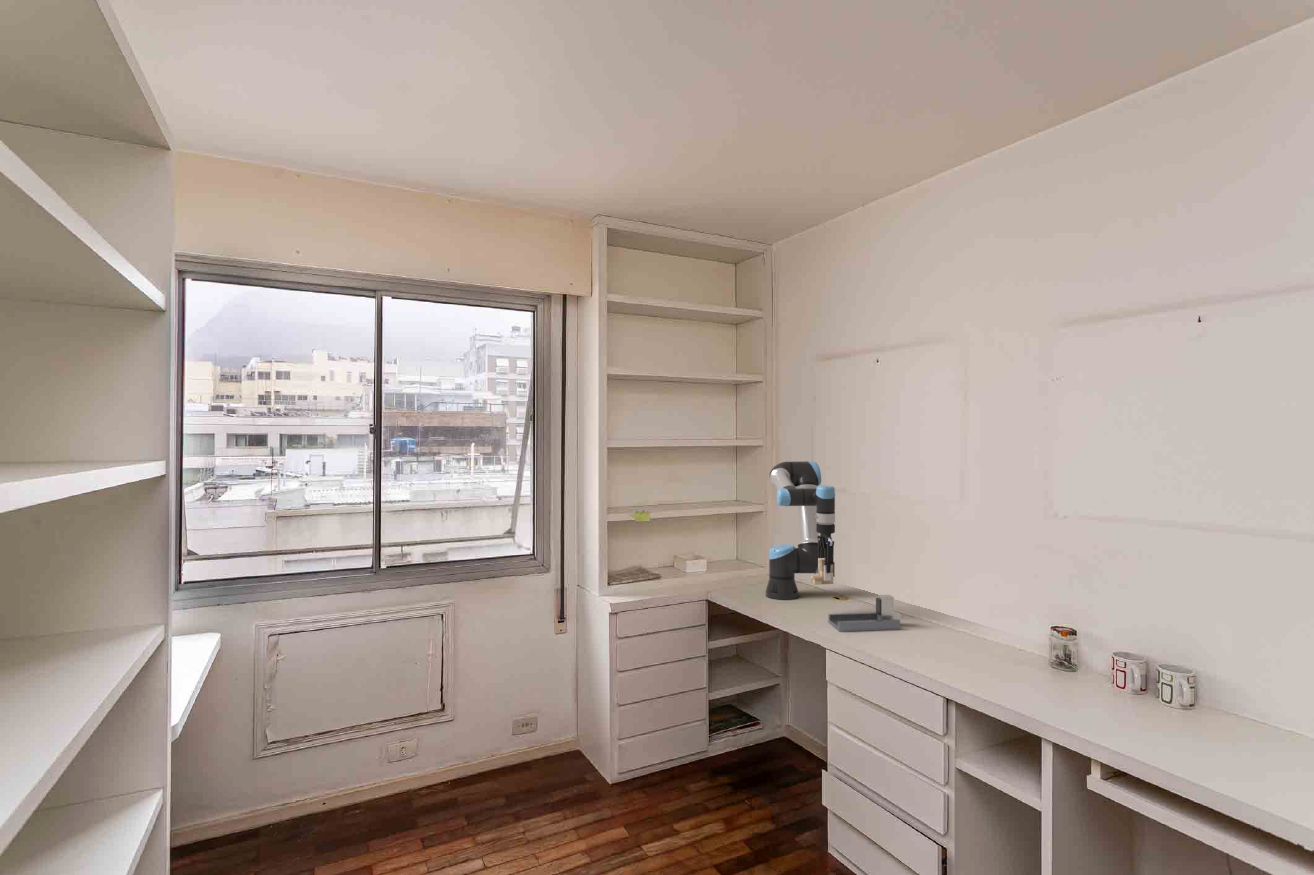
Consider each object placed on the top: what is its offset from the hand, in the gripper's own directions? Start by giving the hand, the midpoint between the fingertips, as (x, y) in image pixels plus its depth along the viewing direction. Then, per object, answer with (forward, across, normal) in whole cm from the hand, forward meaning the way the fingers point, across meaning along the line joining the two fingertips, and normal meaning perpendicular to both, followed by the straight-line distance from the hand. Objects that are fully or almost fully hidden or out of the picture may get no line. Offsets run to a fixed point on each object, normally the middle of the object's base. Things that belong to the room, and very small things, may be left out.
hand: (825, 579), depth 279 cm
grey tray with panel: (+15, +18, +10) cm, 25 cm away
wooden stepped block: (+2, 0, -1) cm, 2 cm away
